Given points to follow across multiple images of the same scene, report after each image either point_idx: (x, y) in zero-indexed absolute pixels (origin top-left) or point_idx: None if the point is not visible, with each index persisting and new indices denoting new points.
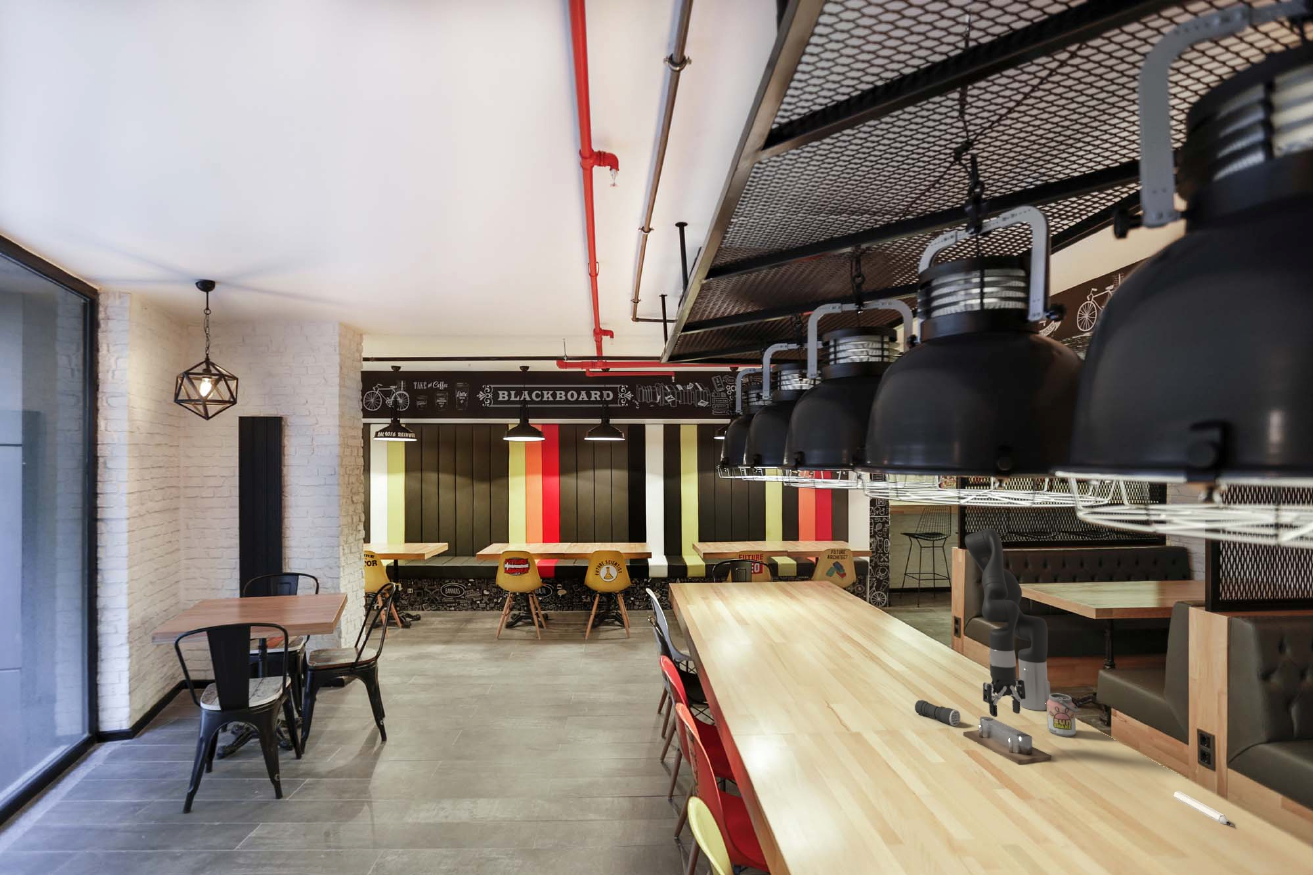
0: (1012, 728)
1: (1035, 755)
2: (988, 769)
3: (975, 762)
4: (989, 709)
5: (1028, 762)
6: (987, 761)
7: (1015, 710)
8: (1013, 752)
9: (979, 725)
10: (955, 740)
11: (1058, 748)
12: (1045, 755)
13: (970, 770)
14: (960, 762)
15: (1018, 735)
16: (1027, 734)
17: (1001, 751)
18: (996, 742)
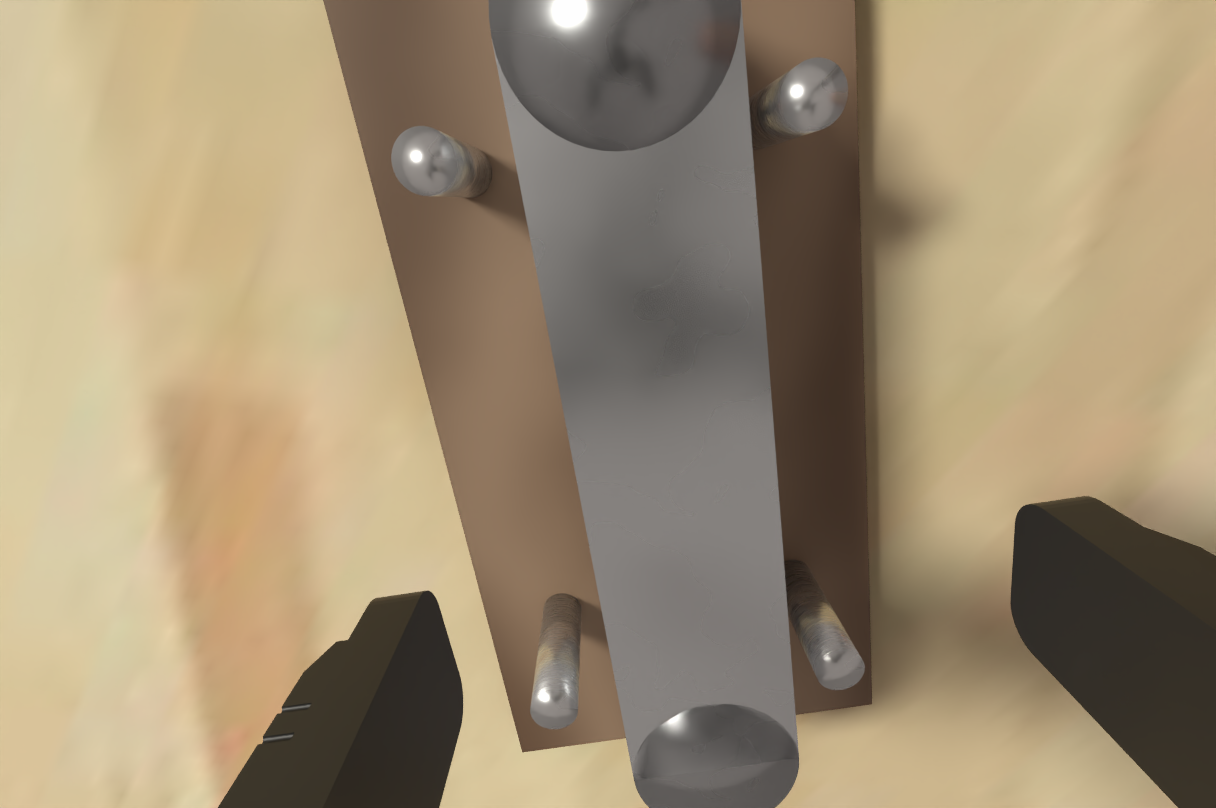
0: (750, 534)
1: None
2: (237, 769)
3: (180, 655)
4: (268, 729)
5: None
6: (295, 650)
7: (1052, 609)
8: (582, 614)
9: (400, 175)
10: (160, 107)
11: (1130, 484)
12: (823, 699)
13: (84, 769)
14: (44, 641)
15: (657, 748)
16: (793, 734)
17: (480, 581)
18: None
